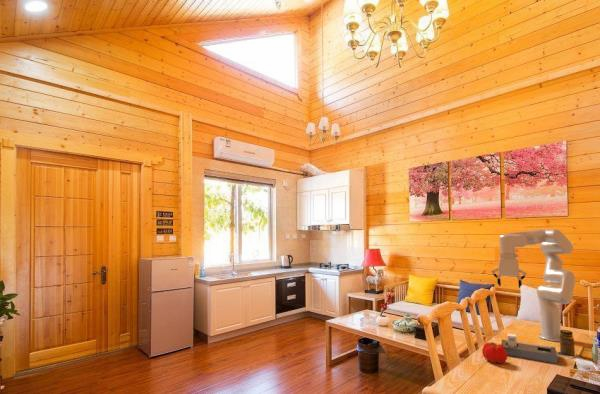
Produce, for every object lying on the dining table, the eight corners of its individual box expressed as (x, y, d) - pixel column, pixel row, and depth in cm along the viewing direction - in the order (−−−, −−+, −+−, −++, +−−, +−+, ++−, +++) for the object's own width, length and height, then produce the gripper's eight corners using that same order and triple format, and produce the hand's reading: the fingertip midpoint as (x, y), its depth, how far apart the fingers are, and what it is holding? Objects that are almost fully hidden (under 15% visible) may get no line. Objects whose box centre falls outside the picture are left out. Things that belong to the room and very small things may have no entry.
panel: (502, 346, 191) (502, 338, 191) (555, 355, 178) (555, 346, 178) (501, 354, 179) (500, 345, 180) (557, 364, 166) (557, 355, 166)
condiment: (578, 355, 178) (576, 331, 180) (572, 358, 174) (570, 334, 175) (561, 350, 184) (560, 328, 186) (555, 354, 180) (553, 330, 181)
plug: (508, 350, 185) (507, 333, 186) (517, 351, 183) (516, 334, 184) (508, 353, 181) (507, 335, 182) (517, 354, 179) (516, 337, 180)
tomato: (510, 367, 163) (509, 348, 164) (484, 364, 166) (483, 345, 167) (505, 359, 173) (504, 341, 173) (481, 356, 176) (480, 339, 177)
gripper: (525, 256, 194) (527, 287, 192) (491, 255, 203) (492, 284, 202) (525, 257, 188) (527, 289, 186) (490, 256, 197) (491, 286, 195)
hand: (509, 286), depth 194 cm, fingers open, 9 cm apart
